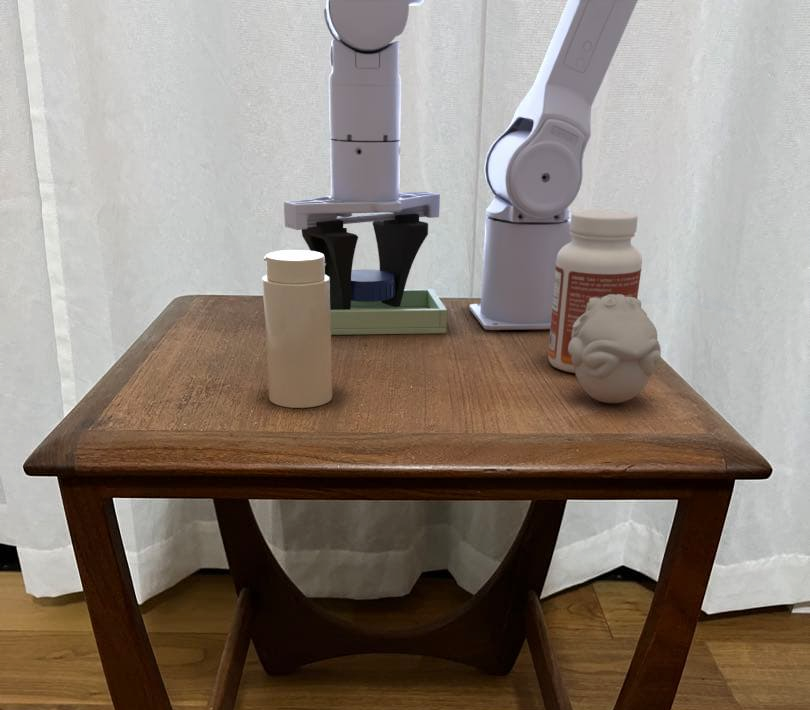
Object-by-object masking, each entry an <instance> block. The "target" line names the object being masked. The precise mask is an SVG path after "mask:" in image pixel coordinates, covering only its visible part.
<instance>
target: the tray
mask: <svg viewBox="0 0 810 710" xmlns="http://www.w3.org/2000/svg"><path fill="white" fill-rule="evenodd" d="M330 312H331V336H347V335H348V336H349V335H350V336H352V335H354V336H355V335H356V336H357V335H416V334H417V335H418V334H420V335H422V334H423V335H424V334H427V335H428V334H429V335H430V334H447V323H448V309H447V308H446V306H445V305H444V303H443V302H442V301H441V299H440V297H439V296H438V295H437V292H436V291H435V289H433V288H405V289H404V293H403V297H402V301H401V305H400V306H399V307H393V306H390V305H387V304H384V303H382V302H381V301H374V302H359V301H351V307H350V310H330Z"/></svg>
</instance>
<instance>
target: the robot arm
mask: <svg viewBox="0 0 810 710" xmlns="http://www.w3.org/2000/svg"><path fill="white" fill-rule="evenodd" d="M638 1H639V0H567V1H566V4H565V6H564V9H563V10H562V14H561V16H560V18H559V21H558V24H557V26H556V29H555V31H554V34H553V36H552V38H551V41H550V43H549V46H548V48H547V51H546V53H545V55H544V57H543V60H542V62H541V66H540V68H539V71H538V72H537V75H536V78H535V81H534V83H533V85H532V86H531V87H530V89H529V91H528V92H527V93H526V95H525V96H524V98H523V99H522V100H521V102H520V103H519V105H518V106H517V107H516V110H515V112H514V115H513V117H512V119H511V122H510V123H509V125H508V127H507V128H506V129H505V130H504V132H502V133H501V134H500V135H499V136H498V137H497V138H496V139H494V141H493V142H492V144H491V145H490V147H489V149H488V151H487V153H486V155H485V160H484V169H483V170H484V177H485V183H486V185H487V187H488V189H489V190H490V192H491V193H492V194H493V195H494V197H493V198H492V201H491V203H490V205H488V207H487V208H486V209H485V215H486V216H485V222H484V223H485V225H484V239H483V241H484V243H483V257H482V276H481V277H482V278H481V292H480V293H481V294H480V303H471V304H469V310H470V312H471V313H472V314H473V316H474V317H475V318H476V320H477V321H478V322H479V323H480V325H481V326H482V328H483V329H484V330H487V331H517V330H518V331H519V330H520V331H521V330H522V331H523V330H528V331H529V330H550V328H551V316H552V305H553V293H554V282H555V270H556V260H557V255H558V253H559V251H560V250H561V248H562V247H563V246H565V245H566V244H568V243H570V242H571V241H572V235H571V234H570V229H569V227H570V220H571V214H572V209H570V208H569V207H570V206H571V205H572V203H573V202H574V201H575V199H576V198H577V197H578V194H579V192H580V189H581V186H582V182H583V174H584V173H583V169H584V168H583V166H584V165H583V163H584V162H583V161H584V154H585V151H586V149H587V146H588V143H589V141H590V139H591V137H592V108H593V105H594V102H595V101H596V100H595V99H596V98H597V97H598V93H599V91H600V89H601V86H602V84H603V82H604V79H605V77H606V75H607V72H608V71H609V68H610V66H611V63H612V61H613V58H614V57H615V54H616V52H617V50H618V47H619V45H620V43H621V40H622V38H623V36H624V33H625V31H626V29H627V27H628V24H629V22H630V20H631V18H632V15H633V14H634V13H633V12H634V11H635V8H636V6H637V3H638ZM424 2H425V0H326V3H325V5H326V6H325V8H324V9H323V15H324V17H323V18H324V21H325V22H324V23H325V25H326V28H327V30H328V33H329V34H330V36H331V38H332V39H331V41H330V42H331V43H330V47H329V52H328V53H329V54H328V55H329V56H328V57H329V64H330V67H331V72H330V73H329V75H328V113H329V114H328V115H329V118H328V119H329V120H328V121H329V123H328V124H329V153H330V154H329V157H330V158H329V161H330V164H329V165H330V195H325V196H319V197H312V198H307V199H306V198H305V199H298V200H290V201H283V215H284V227H285V228H289V229H293V230H296V231H299V230H300V231H301V236H302V238H303V240H304V241H305V243H306V245H307V247H308V249H309V251H315V252H319V253H322V254H324V257H325V263H326V265H325V275H327V276H329V278H330V310H350V307H351V272H352V270H353V263H354V258H355V257H354V256H355V252H356V247H357V243H358V239H359V236H358V235H357V234H356V233H352V232H348V228H347V227H344V225H350V224H361V223H372V228H373V231H374V235H375V240H376V241H375V242H376V245H377V253H378V261H379V262H378V263H379V270H380V271H385V272H389V273H392V274H393V275H394V281H395V294H394V296H393V297H392V298H390V299H387V300H383V301H381V302H382V303H384V304H387V305H390V306H393V307H399V306H400V305H401V301H402V297H403V293H404V289H406V285H407V281H408V278H409V275H410V272H411V268H412V266H413V264H414V261H415V259H416V256H417V254H418V252H419V250H420V249H421V247H422V245H423V243H424V242H425V240H426V239H427V237H428V235H429V223H428V222H425V221H423V220H422V221H421V220H420V218H430V219H434V218H440V208H441V207H440V206H441V205H440V203H441V194H440V193H437V192H436V193H435V192H430V191H415V192H413V191H411V192H400V191H401V190H400V187H401V186H400V185H401V184H400V182H401V111H402V110H401V108H402V78H401V75H400V72H399V71H400V69H399V68H400V67H399V65H400V62H399V61H400V60H399V59H400V41H399V40H395V39H396V37H398V36H401V35H402V34H403V33H404V31H405V29H406V26H407V23H408V19H409V14H410V7H411V6H413V7H418V6H421V5H422V4H423V3H424ZM394 40H395V41H394ZM353 214H359V215H353Z"/></svg>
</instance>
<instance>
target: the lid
mask: <svg viewBox="0 0 810 710" xmlns="http://www.w3.org/2000/svg"><path fill="white" fill-rule="evenodd" d="M394 294H395V281H394V275H393V274H392V273H389V272H385V271H380V269H379V270H378V269H352V272H351V301H359V302H374V301H383V300H387V299H390V298H392V297H393V296H394Z"/></svg>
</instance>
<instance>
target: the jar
mask: <svg viewBox="0 0 810 710" xmlns="http://www.w3.org/2000/svg"><path fill="white" fill-rule="evenodd" d="M263 261H264V262H265V269H266V270H265V271H266V275H264V276H262V278H261V282H262V283H261V284H262V285H261V286H262V300H263V301H262V302H263V314H264V315H263V316H264V318H263V319H264V337H265V351H266V370H267V384H268V399H269V401H270V402H271V404H274V405H277V406H279V407H284V408H291V409H307V408H315V407H319V406H320V407H321V406H322V405H323V406H324V405H326V404H327V403H330V402H331V401H332V399H333V364H332V363H333V362H332V361H333V359H332V335H331V312H330V278H329V276H327V275H325V265H326V263H325V257H324V254H322V253H319V252H315V251H311V250H306V249H305V250H304V249H284V250H276V251H271V252H269V253H266V254H265V255H264V256H263Z"/></svg>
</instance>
